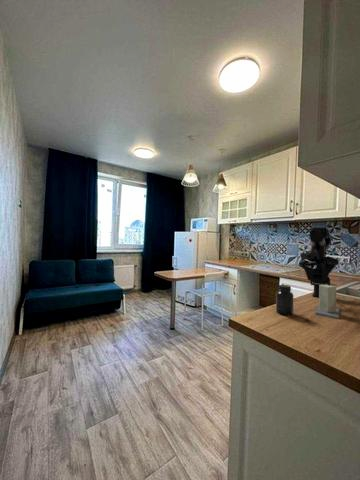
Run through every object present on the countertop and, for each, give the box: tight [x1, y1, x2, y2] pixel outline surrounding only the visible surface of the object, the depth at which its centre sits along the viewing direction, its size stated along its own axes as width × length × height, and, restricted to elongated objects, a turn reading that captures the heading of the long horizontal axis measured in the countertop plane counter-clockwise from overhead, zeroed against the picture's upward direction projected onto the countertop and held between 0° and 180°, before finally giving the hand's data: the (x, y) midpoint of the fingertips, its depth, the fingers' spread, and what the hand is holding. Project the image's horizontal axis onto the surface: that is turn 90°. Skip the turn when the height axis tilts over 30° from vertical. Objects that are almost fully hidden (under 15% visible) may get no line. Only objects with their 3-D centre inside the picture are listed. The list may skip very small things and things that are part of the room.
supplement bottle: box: [275, 284, 294, 316], centre depth 91 cm, size 7×7×12 cm
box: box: [318, 284, 337, 312], centre depth 93 cm, size 5×4×11 cm
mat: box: [315, 303, 340, 320], centre depth 93 cm, size 14×8×1 cm, turn 142°
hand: (316, 279), depth 102 cm, fingers open, 9 cm apart
